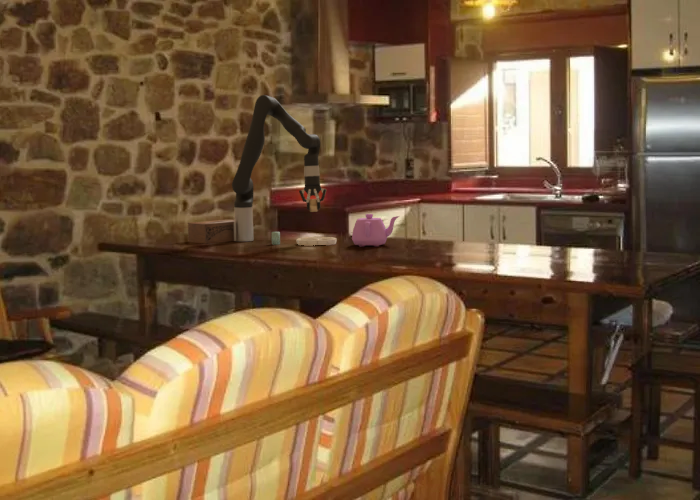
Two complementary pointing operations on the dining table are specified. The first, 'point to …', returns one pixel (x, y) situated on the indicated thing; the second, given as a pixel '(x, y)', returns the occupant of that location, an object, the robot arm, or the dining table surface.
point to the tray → (316, 241)
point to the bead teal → (275, 238)
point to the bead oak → (313, 205)
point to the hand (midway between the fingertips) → (313, 209)
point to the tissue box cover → (211, 231)
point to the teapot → (371, 231)
